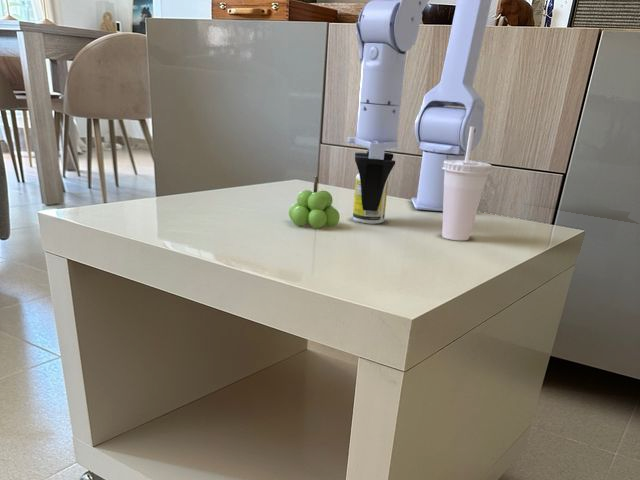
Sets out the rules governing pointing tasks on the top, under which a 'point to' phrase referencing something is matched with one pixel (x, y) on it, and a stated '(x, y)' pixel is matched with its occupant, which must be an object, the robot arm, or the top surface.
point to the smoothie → (462, 193)
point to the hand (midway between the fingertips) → (369, 207)
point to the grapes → (314, 208)
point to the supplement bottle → (367, 215)
